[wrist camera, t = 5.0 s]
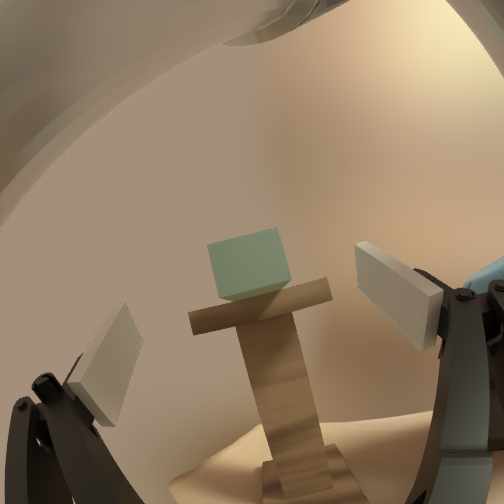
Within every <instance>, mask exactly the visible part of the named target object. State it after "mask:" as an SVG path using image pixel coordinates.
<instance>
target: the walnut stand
mask: <svg viewBox="0 0 504 504" xmlns="http://www.w3.org/2000/svg"><path fill="white" fill-rule="evenodd" d="M330 300H333V299H332V295H331V291H330V287H329V284H328V281H327V278H326V277H325V278H321V279H318V280H314V281H311V282H308V283H304V284H300V285H296V286H293V287H289V288H286V289H282V290H278V291H274V292H270V293H266V294H263V295H259V296H255V297H251V298H247V299H243V300H239V301H235V302H231V303H226V304H222V305H218V306H214V307H210V308H205V309H201V310H197V311H192V312H188V315H189V319H190V323H191V328H192V332H193V335H198V334H203V333H208V332H212V331H216V330H221V329H225V328H230V327H234V326H236V331H237V335H238V338H239V342H240V346H241V350H242V354H243V357H244V361H245V365H246V368H247V372H248V376H249V379H250V383H251V387H252V390H253V394H254V397H255V401H256V404H257V408H258V411H259V415H260V418H261V422H262V425H263V428H264V432H265V435H266V438H267V442H268V445H269V448H270V451H271V455H272V458H273V460H270V461H265V462H263V504H370V503H369V501H368V500H367V498H366V496H365V495H364V493H363V491H362V490H361V488H360V486H359V484H358V483H357V481H356V479H355V478H354V476H353V474H352V473H351V471H350V469H349V467H348V466H347V464H346V462H345V460H344V459H343V457H342V455H341V453H340V452H339V450H338V448H337V446H336V445H335V443H334V444H331V445H328V446H325V447H324V443H323V438H322V434H321V429H320V425H319V421H318V416H317V412H316V408H315V404H314V399H313V395H312V391H311V387H310V383H309V379H308V374H307V370H306V366H305V362H304V358H303V354H302V351H301V346H300V342H299V338H298V334H297V330H296V327H295V323H294V319H293V315H292V311H296V310H300V309H303V308H307V307H310V306H314V305H317V304H320V303H324V302H327V301H330Z"/></svg>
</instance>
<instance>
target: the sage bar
mask: <svg viewBox="0 0 504 504" xmlns="http://www.w3.org/2000/svg"><path fill="white" fill-rule="evenodd" d="M207 247H208V251H209V256H210V260H211V265H212V269H213V273H214V278H215V282H216V286H217V290H218V295H219V298H222V299H225V300H229V301H233V302H235V301H239V300H243V299H247V298H251V297H255V296H259V295H263V294H266V293H270V292H274V291H278V290H281V289H282V288H283V287H284V286H285V285H286V284H287V283H288V282H289V281H290V280H291V275H290V272H289V268H288V265H287V261H286V257H285V254H284V250H283V246H282V243H281V239H280V236H279V232H278V229H277V227H276V228H272V229H268V230H264V231H260V232H256V233H252V234H248V235H244V236H240V237H236V238H233V239H228V240H224V241H221V242H217V243H213V244H209V245H207Z"/></svg>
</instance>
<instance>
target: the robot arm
mask: <svg viewBox="0 0 504 504" xmlns="http://www.w3.org/2000/svg"><path fill="white" fill-rule="evenodd" d="M347 1H349V0H0V232H1V230H2V229H3V227H4V226H5V224H6V223H7V222H8V220H9V218H10V217H11V216H12V214H13V213H14V212H15V210H16V209H17V208H18V206H19V205H20V204H21V203H22V202H23V200H24V199H25V198H26V197H27V195H28V194H29V193H30V192H31V191H32V189H33V188H34V187H35V186H36V185H37V184H38V182H39V181H40V180H41V179H42V178H43V177H44V176H45V175H46V173H47V172H48V171H49V170H50V169H51V168H52V167H53V166H54V165H55V164H56V163H57V162H58V161H59V160H60V159H61V158H62V157H63V156H64V155H65V154H66V153H67V152H68V151H69V150H70V149H71V148H72V147H73V146H74V145H75V144H76V143H77V142H78V141H79V140H80V139H81V138H83V137H84V136H85V135H86V134H87V133H88V132H89V131H90V130H91V129H93V128H94V127H95V126H96V125H97V124H98V123H100V121H102V120H103V119H104V118H106V117H107V116H108V115H109V114H111V113H112V112H113V111H114V110H116V109H117V108H118V107H120V106H121V105H122V104H123V103H125V102H126V101H128V100H129V99H130V98H132V97H133V96H134V95H136V94H137V93H139V92H140V91H141V90H143V89H144V88H146V87H147V86H149V85H150V84H152V83H153V82H155V81H156V80H158V79H159V78H161V77H163V76H164V75H166V74H167V73H169V72H171V71H172V70H174V69H176V68H177V67H179V66H181V65H183V64H184V63H186V62H188V61H190V60H191V59H193V58H195V57H197V56H199V55H201V54H203V53H204V52H206V51H208V50H210V49H212V48H214V47H216V46H218V45H221V44H223V45H229V46H245V45H254V44H260V43H263V42H267V41H270V40H273V39H275V38H278V37H280V36H282V35H284V34H286V33H288V32H290V31H292V30H294V29H296V28H297V27H299V26H301V25H303V24H305V23H307V22H309V21H311V20H313V19H315V18H317V17H319V16H321V15H323V14H325V13H327V12H329V11H331V10H333V9H334V8H336V7H338V6H340V5H342V4H344V3H345V2H347ZM446 1H447V2H448V3H449V4H450V5H451V6H452V8H453V9H454V10H455V11H456V12H457V13H458V14H459V15H460V17H461V18H462V19H463V20H464V22H465V23H466V24H467V25H468V26H469V28H471V30H472V31H473V33H474V34H475V35H476V37H477V38H478V40H479V41H480V42H481V43H482V45H483V46H484V48H485V49H486V51H487V52H488V54H489V55H490V57H491V58H492V60H493V61H494V63H495V65H496V66H497V68H498V69H499V71H500V73H501V74H502V76H503V78H504V0H446ZM354 247H355V257H356V269H357V282H358V288H359V289H360V290H361V291H362V292H363V293H364V294H365V295H366V296H367V297H368V298H369V299H370V300H371V301H372V302H373V303H374V304H375V305H376V306H377V307H378V308H379V309H380V310H381V311H382V312H383V313H384V314H385V315H386V316H387V317H388V318H389V319H390V320H391V321H392V322H393V323H394V324H395V325H396V326H397V327H398V328H399V329H400V330H401V331H402V332H403V333H404V334H405V336H406V337H408V339H409V340H410V341H411V342H412V343H413V344H414V345H415V346H416V347H417V348H418V349H419V350H420V351H421V352H424V351H426V350H428V349H430V348H432V347H433V346H435V343H436V338H437V334H438V335H439V336H440V337H441V338H442V344H441V348H440V353H439V357H438V359H440V367H439V377H438V384H437V392H436V399H435V405H434V410H433V416H432V421H431V426H430V431H429V435H428V439H427V443H426V447H425V451H424V455H423V458H422V462H421V465H420V469H419V472H418V475H417V478H416V481H415V484H414V486H413V488H412V490H411V492H410V494H409V496H408V498H407V500H406V502H405V504H486V500H487V496H488V491H489V486H490V481H491V475H492V469H493V454H492V452H490V451H488V450H500V449H504V256H503V257H501V258H500V259H498V260H496V261H494V262H493V263H491V264H489V265H488V266H486V267H485V268H483V269H481V270H480V271H478V272H477V273H475V274H474V275H473V276H471V277H470V278H469V279H468V280H467V281H466V282H465V284H464V286H463V288H457V289H452V288H451V287H449V286H447V285H446V284H444V283H443V282H441V281H439V280H437V278H435V277H433V276H431V275H430V274H429V273H427V272H425V271H423V270H420V269H416V268H415V269H411V268H410V267H408V266H406V265H405V264H403V263H401V262H400V261H398V260H397V259H395V258H394V257H392V256H390V255H389V254H387V253H385V252H384V251H382V250H381V249H379V248H377V247H376V246H374V245H372V244H370V243H369V242H367V241H364V242H360V243H356V244H354ZM142 345H143V339H142V337H141V335H140V333H139V331H138V329H137V327H136V325H135V322H134V320H133V318H132V316H131V314H130V312H129V310H128V307H127V305H126V303H125V302H124V303H119V304H115V305H114V306H113V307H112V309H111V310H110V312H109V313H108V315H107V316H106V318H105V320H104V321H103V323H102V324H101V326H100V327H99V329H98V330H97V332H96V334H95V335H94V337H93V338H92V340H91V342H90V343H89V345H88V347H87V348H86V350H85V352H84V353H83V354H82V355H81V356H79V357H78V359H77V360H76V362H75V364H74V366H73V367H72V369H71V372H69V374H68V376H67V378H66V380H65V381H64V383H63V385H62V386H61V385H60V383H59V382H58V381H57V379H56V378H55V376H54V375H53V373H50V372H49V373H45V374H42V375H40V376H39V377H38V378H37V379H36V380H35V381H34V382H33V384H32V390H33V391H34V393H35V394H36V395H37V396H38V398H39V399H40V400H41V401H42V402H41V403H38V404H35V403H34V402H33V401H32V400H31V398H30V397H27V396H26V397H23V398H20V399H19V400H17V402H16V403H15V405H14V407H13V411H12V416H11V422H10V428H9V435H8V442H7V453H6V464H5V504H73V499H74V501H75V503H76V504H145V503H144V502H143V501H142V499H140V497H139V496H138V494H137V493H136V491H135V490H134V489H133V487H132V486H131V485H130V483H129V482H128V480H127V479H126V477H125V476H124V474H123V473H122V471H121V470H120V468H119V467H118V465H117V463H116V462H115V460H114V459H113V457H112V456H111V454H110V452H109V450H108V449H107V447H106V445H105V443H104V442H103V440H102V438H101V436H100V434H99V432H98V431H97V429H96V428H95V427H94V425H93V424H92V423H93V421H94V418H95V419H96V420H97V421H98V423H99V424H100V425H101V426H109V427H115V426H116V423H117V419H118V416H119V413H120V410H121V406H122V403H123V400H124V397H125V394H126V391H127V387H128V385H129V382H130V378H131V376H132V373H133V370H134V367H135V364H136V361H137V359H138V356H139V353H140V350H141V347H142ZM36 438H37V439H38V440H39V441H40V445H39V444H38V442H37V440H36ZM72 497H73V499H72Z"/></svg>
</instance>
